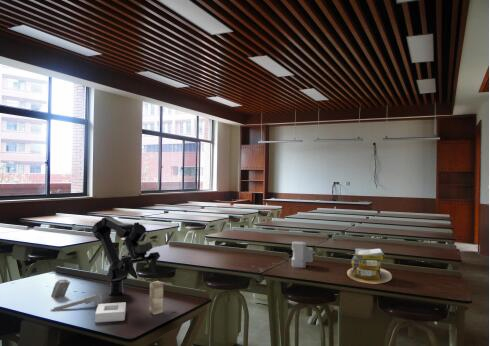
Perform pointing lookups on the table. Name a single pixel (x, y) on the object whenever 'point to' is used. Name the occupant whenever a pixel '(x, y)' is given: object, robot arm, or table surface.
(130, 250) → the robot arm
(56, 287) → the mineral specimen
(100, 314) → the socket block
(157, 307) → the birch peg
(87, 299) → the caliper
